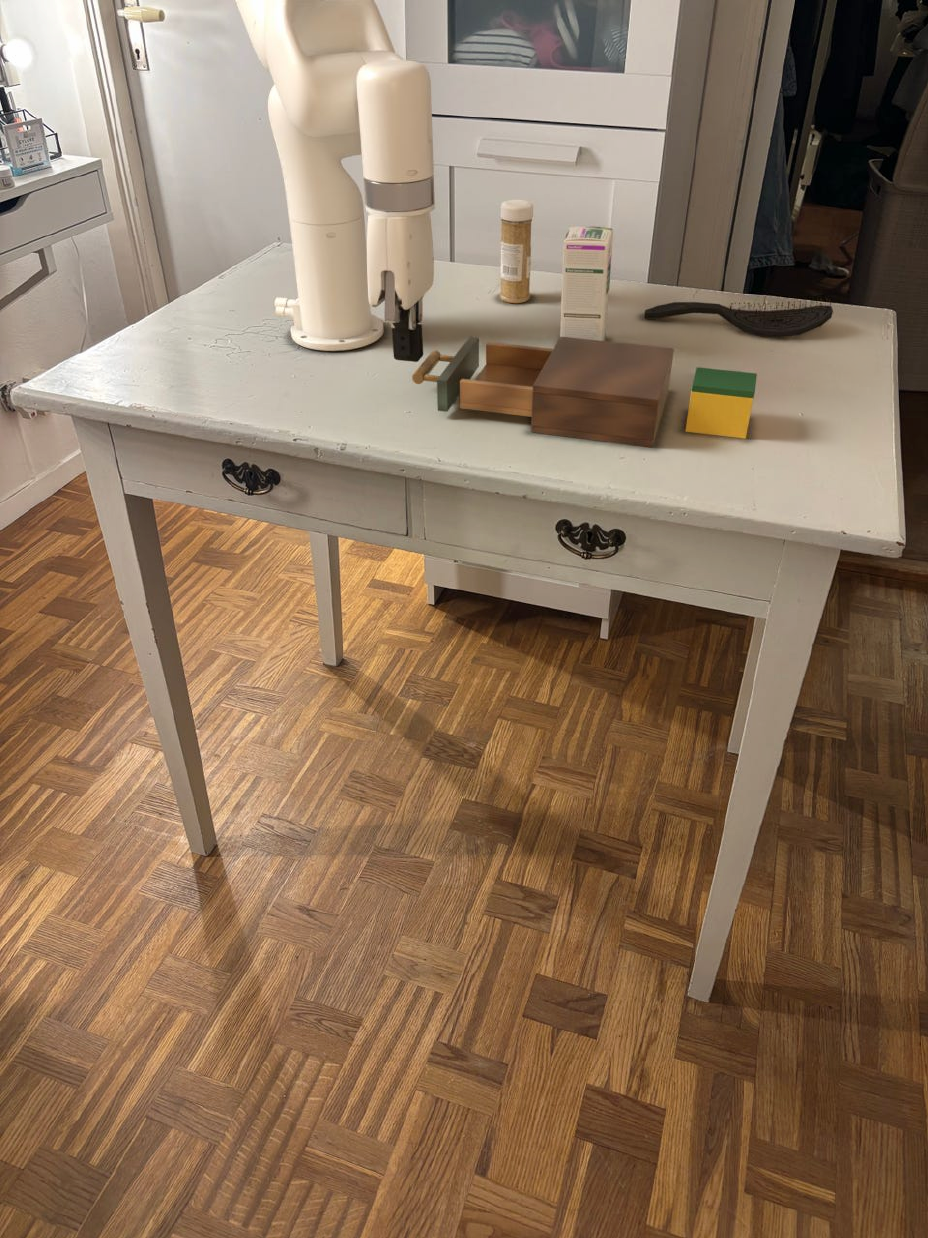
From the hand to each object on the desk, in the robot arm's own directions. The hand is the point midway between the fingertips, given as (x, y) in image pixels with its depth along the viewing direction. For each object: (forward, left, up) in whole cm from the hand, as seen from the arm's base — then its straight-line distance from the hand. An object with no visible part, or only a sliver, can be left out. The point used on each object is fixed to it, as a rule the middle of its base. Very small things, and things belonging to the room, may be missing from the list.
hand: (408, 357), depth 112 cm
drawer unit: (+24, 0, -4) cm, 24 cm away
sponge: (+37, 0, -4) cm, 37 cm away
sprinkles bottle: (+5, +34, -4) cm, 35 cm away
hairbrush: (+37, +32, -4) cm, 49 cm away
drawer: (+10, 0, -3) cm, 10 cm away
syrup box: (+18, +19, -4) cm, 26 cm away
